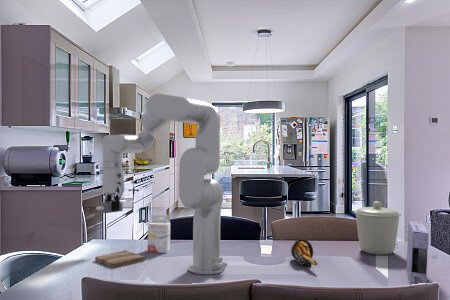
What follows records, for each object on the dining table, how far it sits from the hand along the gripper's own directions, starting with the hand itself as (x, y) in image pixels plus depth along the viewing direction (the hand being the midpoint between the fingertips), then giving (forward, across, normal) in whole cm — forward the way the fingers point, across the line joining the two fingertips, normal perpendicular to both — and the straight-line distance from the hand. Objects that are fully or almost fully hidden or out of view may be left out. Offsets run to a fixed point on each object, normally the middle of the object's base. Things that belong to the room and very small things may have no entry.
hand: (112, 209), depth 159 cm
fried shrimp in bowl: (+18, -67, -39) cm, 79 cm away
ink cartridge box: (+17, -13, -14) cm, 26 cm away
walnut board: (+17, -14, +5) cm, 23 cm away
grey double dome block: (+1, 0, 0) cm, 1 cm away
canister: (+18, -79, -76) cm, 111 cm away
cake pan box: (+18, -102, -49) cm, 115 cm away
